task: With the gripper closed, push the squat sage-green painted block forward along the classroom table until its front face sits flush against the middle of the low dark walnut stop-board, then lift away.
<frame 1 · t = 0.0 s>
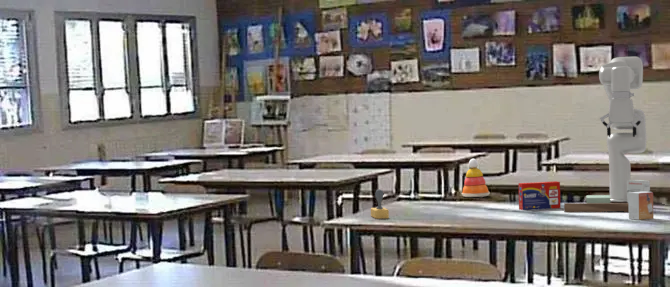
hand: (621, 137, 409), 31 cm above the table, tool pointing down, fingers open, 9 cm apart
small box: (641, 219, 382), on the table
toy box: (539, 209, 431), on the table
green block: (598, 209, 424), on the table
ink box: (638, 207, 425), on the table
walnut board: (598, 211, 412), on the table
rubber stamp: (379, 217, 416), on the table
stacking toy: (475, 197, 496), on the table
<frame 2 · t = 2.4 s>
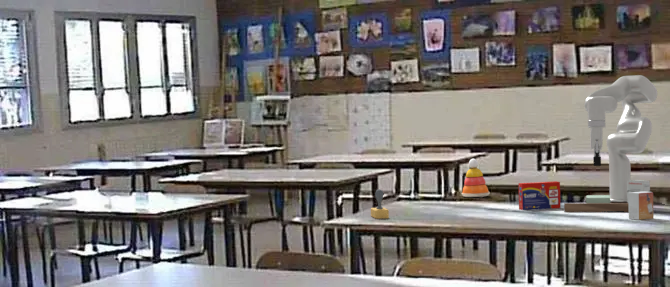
hand: (597, 165, 434), 18 cm above the table, tool pointing down, fingers closed
nothing on the table moved.
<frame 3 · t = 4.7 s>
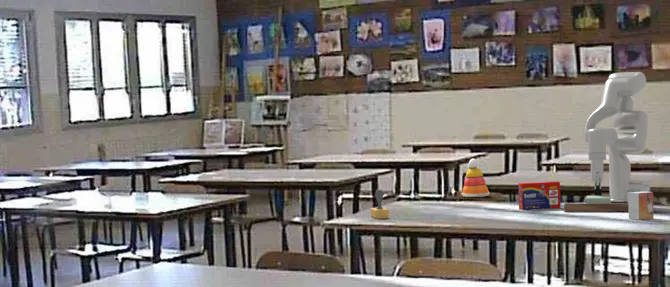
hand: (598, 198, 431), 4 cm above the table, tool pointing down, fingers closed
green block: (598, 209, 424), on the table, touching gripper
everything else where it was.
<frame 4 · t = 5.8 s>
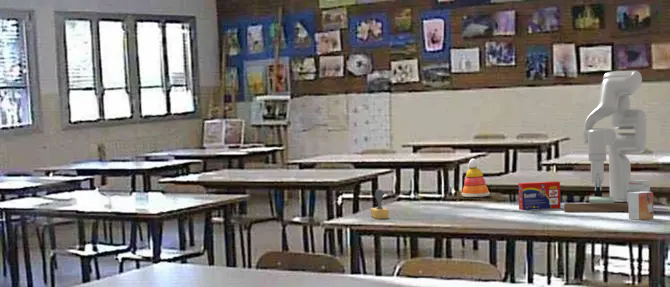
hand: (598, 199, 426), 4 cm above the table, tool pointing down, fingers closed
green block: (601, 210, 418), on the table, touching gripper, walnut board
everything else where it was.
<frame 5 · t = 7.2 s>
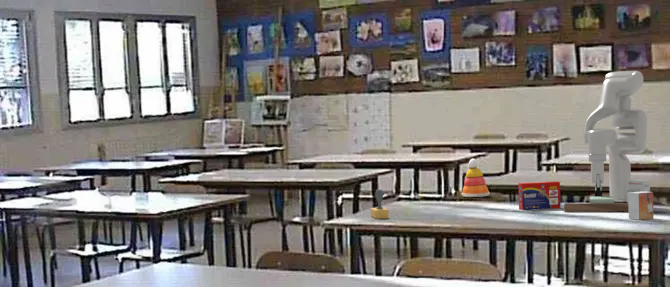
hand: (598, 199, 429), 3 cm above the table, tool pointing down, fingers closed
green block: (602, 210, 418), on the table
everything else where it was.
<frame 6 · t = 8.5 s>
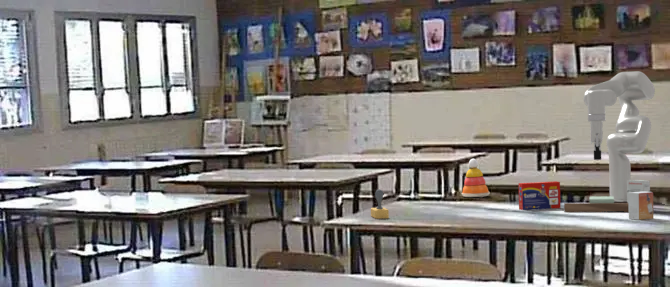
hand: (597, 159, 432), 21 cm above the table, tool pointing down, fingers closed
nothing on the table moved.
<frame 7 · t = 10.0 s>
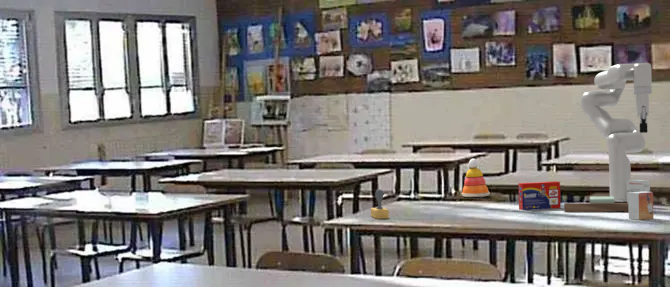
hand: (643, 132, 432), 32 cm above the table, tool pointing down, fingers closed
nothing on the table moved.
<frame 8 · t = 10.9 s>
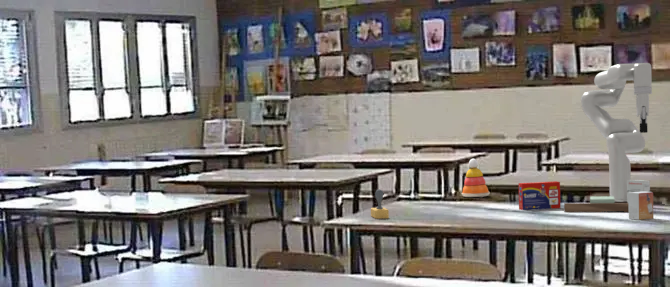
hand: (643, 132, 432), 32 cm above the table, tool pointing down, fingers closed
nothing on the table moved.
at the end: green block 1.6 cm from the target spot on the table beside the walnut board, on the table; green block tilted 0° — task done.
